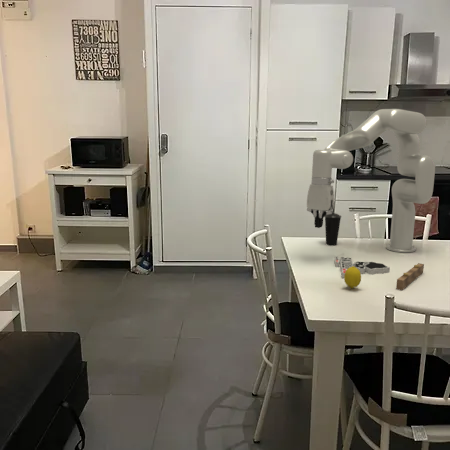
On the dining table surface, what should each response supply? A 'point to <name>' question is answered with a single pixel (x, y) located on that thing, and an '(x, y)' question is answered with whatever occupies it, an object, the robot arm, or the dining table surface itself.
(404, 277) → the walnut ledge
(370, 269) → the decorative sign
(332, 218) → the drinking cup
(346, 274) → the lemon
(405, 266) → the dining table surface
